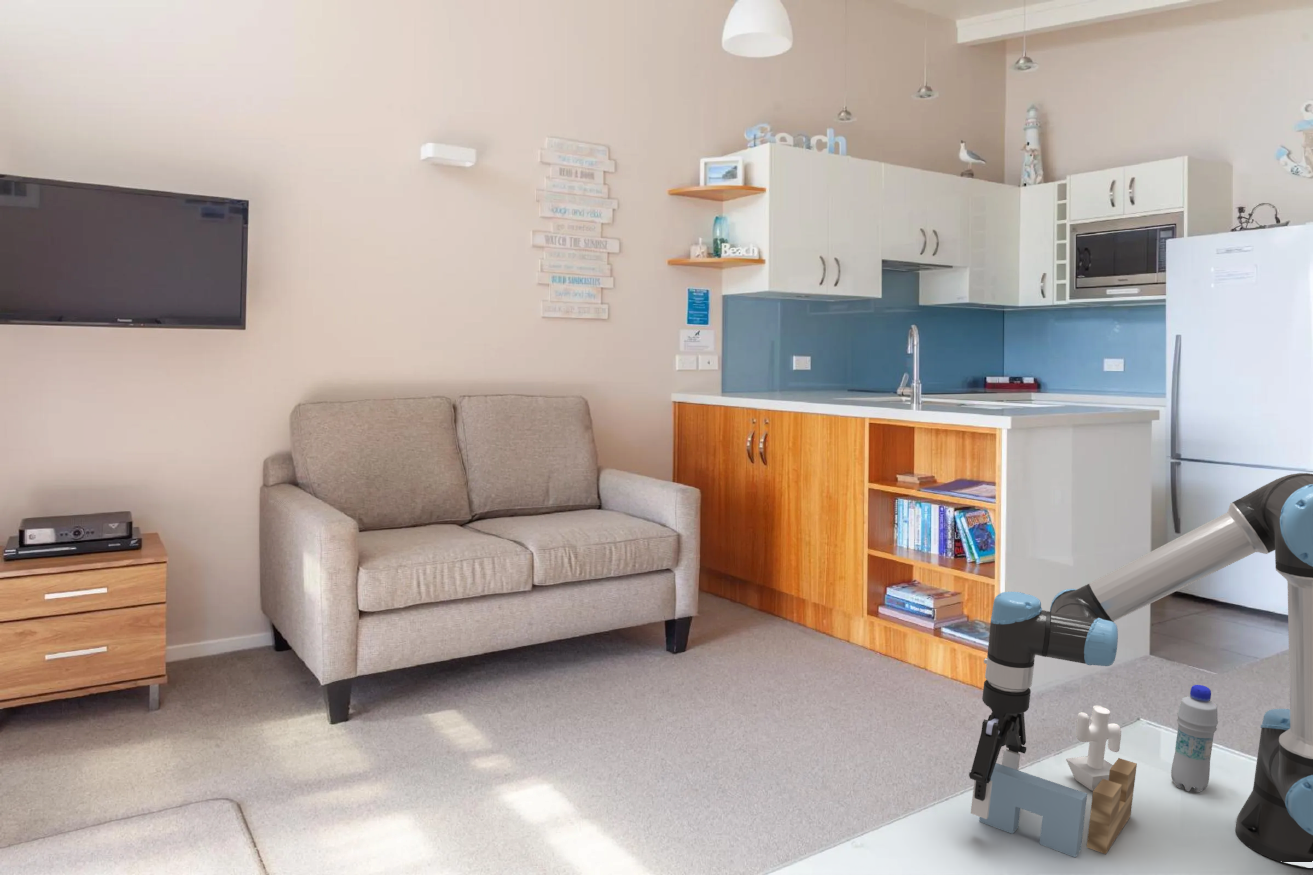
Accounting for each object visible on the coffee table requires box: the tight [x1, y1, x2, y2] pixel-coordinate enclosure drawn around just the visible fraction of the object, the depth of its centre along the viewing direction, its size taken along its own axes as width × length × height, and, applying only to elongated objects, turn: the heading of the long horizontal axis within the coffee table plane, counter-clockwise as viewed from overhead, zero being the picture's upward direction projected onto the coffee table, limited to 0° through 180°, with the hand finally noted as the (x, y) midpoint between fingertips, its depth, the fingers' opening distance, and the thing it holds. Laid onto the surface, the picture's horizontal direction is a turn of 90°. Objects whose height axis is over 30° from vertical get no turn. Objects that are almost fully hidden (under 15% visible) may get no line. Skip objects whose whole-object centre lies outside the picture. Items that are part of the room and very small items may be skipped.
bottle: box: [1170, 684, 1219, 793], centre depth 184 cm, size 7×7×20 cm
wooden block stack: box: [1086, 757, 1138, 855], centre depth 167 cm, size 3×16×10 cm, turn 141°
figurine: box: [1065, 705, 1122, 792], centre depth 183 cm, size 7×9×15 cm
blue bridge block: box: [978, 762, 1088, 858], centre depth 165 cm, size 16×3×10 cm, turn 51°
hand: (994, 800), depth 169 cm, fingers open, 13 cm apart
